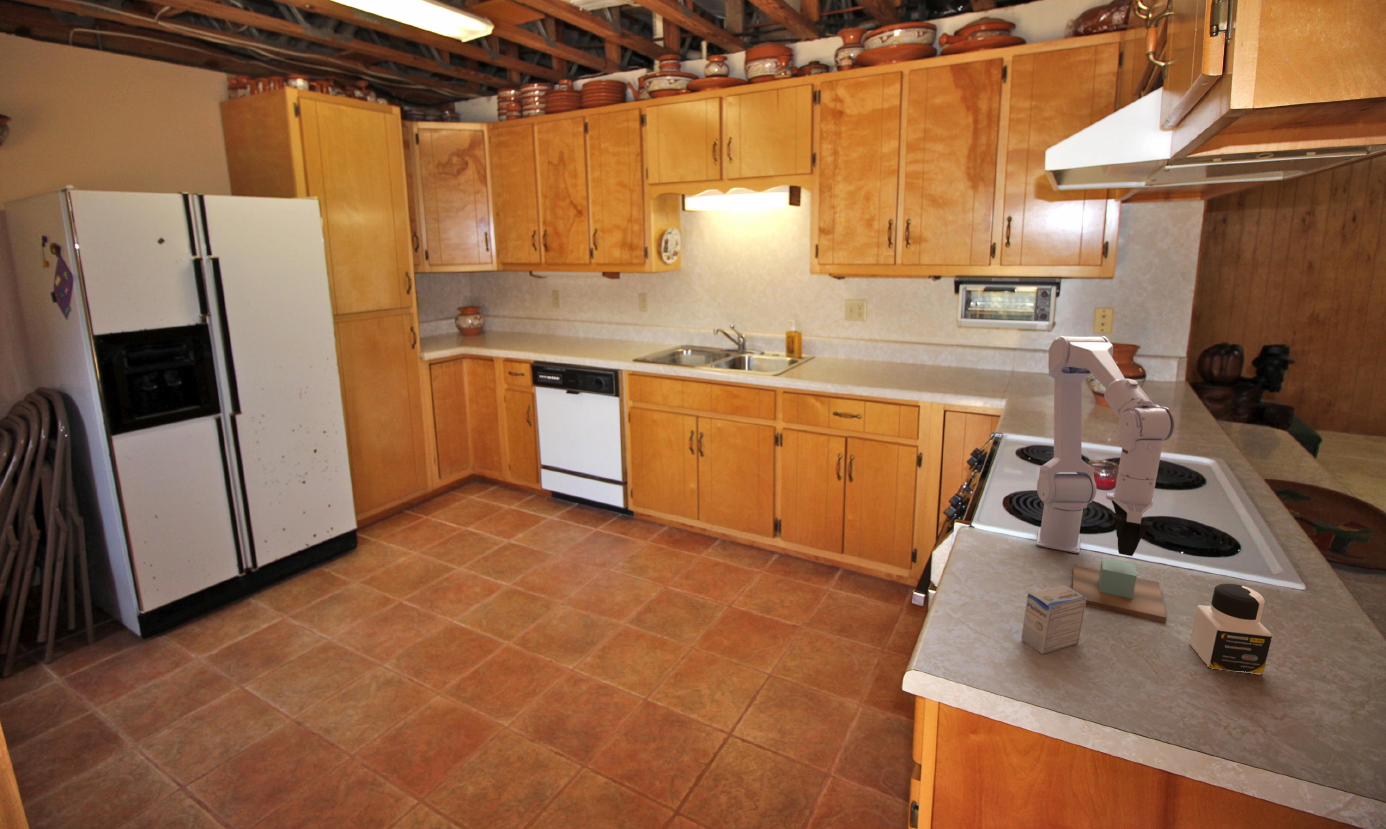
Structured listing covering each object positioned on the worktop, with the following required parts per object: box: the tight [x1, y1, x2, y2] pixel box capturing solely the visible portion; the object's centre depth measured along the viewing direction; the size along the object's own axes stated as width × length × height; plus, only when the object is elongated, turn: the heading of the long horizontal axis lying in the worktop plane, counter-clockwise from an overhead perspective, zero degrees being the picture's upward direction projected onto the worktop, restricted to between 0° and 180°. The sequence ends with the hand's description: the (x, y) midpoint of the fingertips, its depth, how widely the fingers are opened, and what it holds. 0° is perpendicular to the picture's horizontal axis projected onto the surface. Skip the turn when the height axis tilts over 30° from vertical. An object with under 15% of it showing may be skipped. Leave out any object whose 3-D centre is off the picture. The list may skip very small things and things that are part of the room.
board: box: [1072, 565, 1167, 624], centre depth 126 cm, size 14×14×1 cm
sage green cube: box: [1098, 557, 1138, 599], centre depth 126 cm, size 5×5×4 cm
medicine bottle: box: [1189, 583, 1273, 674], centre depth 105 cm, size 7×7×12 cm
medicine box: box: [1021, 584, 1086, 655], centre depth 110 cm, size 8×4×9 cm, turn 111°
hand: (1124, 545), depth 124 cm, fingers open, 7 cm apart
